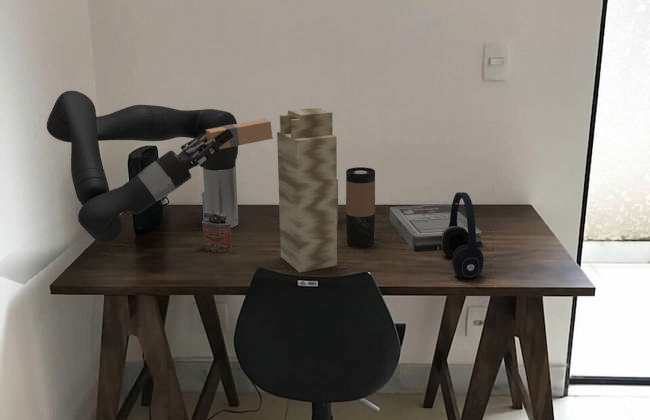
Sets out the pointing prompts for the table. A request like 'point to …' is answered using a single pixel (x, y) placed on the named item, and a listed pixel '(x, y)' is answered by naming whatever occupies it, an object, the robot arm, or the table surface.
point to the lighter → (216, 232)
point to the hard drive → (426, 225)
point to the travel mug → (360, 207)
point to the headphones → (462, 241)
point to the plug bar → (243, 133)
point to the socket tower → (307, 189)
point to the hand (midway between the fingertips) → (227, 130)
